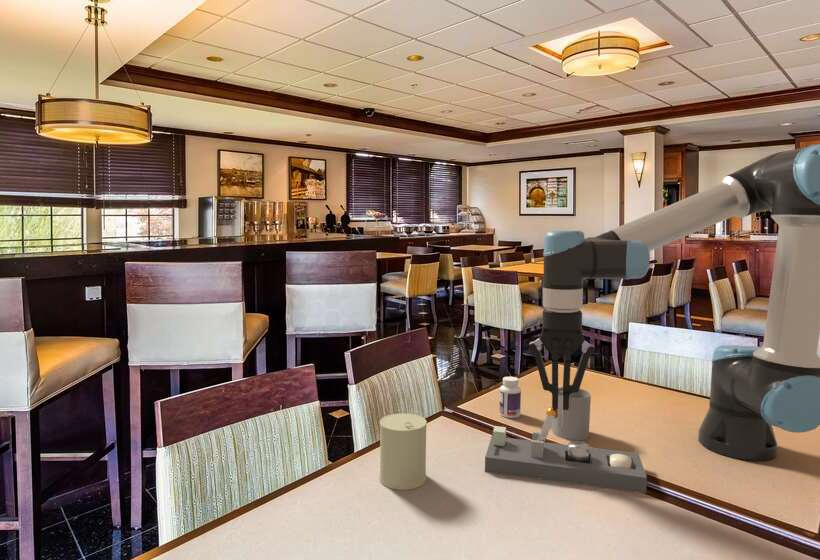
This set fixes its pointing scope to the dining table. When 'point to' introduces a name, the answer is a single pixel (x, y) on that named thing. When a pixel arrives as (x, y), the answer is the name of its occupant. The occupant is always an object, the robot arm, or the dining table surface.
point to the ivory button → (620, 461)
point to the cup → (575, 417)
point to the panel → (564, 464)
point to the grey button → (578, 452)
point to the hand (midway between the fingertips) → (559, 424)
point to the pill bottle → (510, 398)
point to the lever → (547, 423)
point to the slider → (499, 436)
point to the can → (402, 451)
